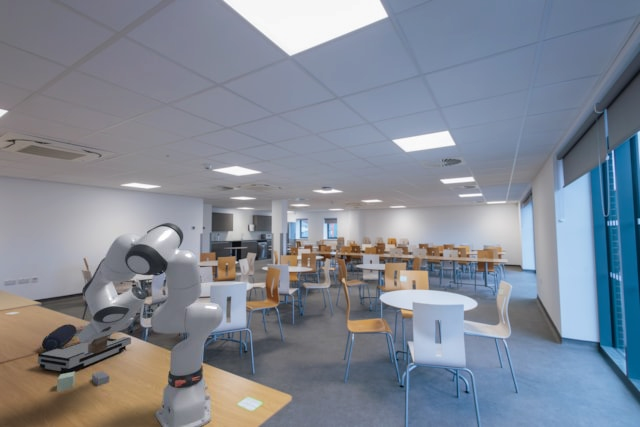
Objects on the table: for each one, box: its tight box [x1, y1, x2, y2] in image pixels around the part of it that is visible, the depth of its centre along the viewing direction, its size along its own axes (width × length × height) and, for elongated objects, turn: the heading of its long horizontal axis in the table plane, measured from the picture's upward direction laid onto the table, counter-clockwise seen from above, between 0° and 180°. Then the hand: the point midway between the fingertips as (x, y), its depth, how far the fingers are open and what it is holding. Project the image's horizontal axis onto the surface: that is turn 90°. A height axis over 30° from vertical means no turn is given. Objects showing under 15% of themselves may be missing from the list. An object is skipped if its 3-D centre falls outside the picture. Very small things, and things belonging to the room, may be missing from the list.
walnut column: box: [88, 335, 108, 353], centre depth 120 cm, size 4×4×8 cm
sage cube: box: [56, 372, 76, 392], centre depth 122 cm, size 5×5×5 cm
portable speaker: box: [41, 323, 77, 351], centre depth 168 cm, size 25×10×10 cm, turn 25°
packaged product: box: [74, 325, 87, 337], centre depth 185 cm, size 18×5×10 cm
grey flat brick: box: [91, 370, 110, 387], centre depth 127 cm, size 8×4×3 cm, turn 54°
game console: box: [37, 335, 132, 373], centre depth 150 cm, size 21×32×8 cm, turn 165°
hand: (96, 340), depth 120 cm, fingers closed on walnut column, 4 cm apart
